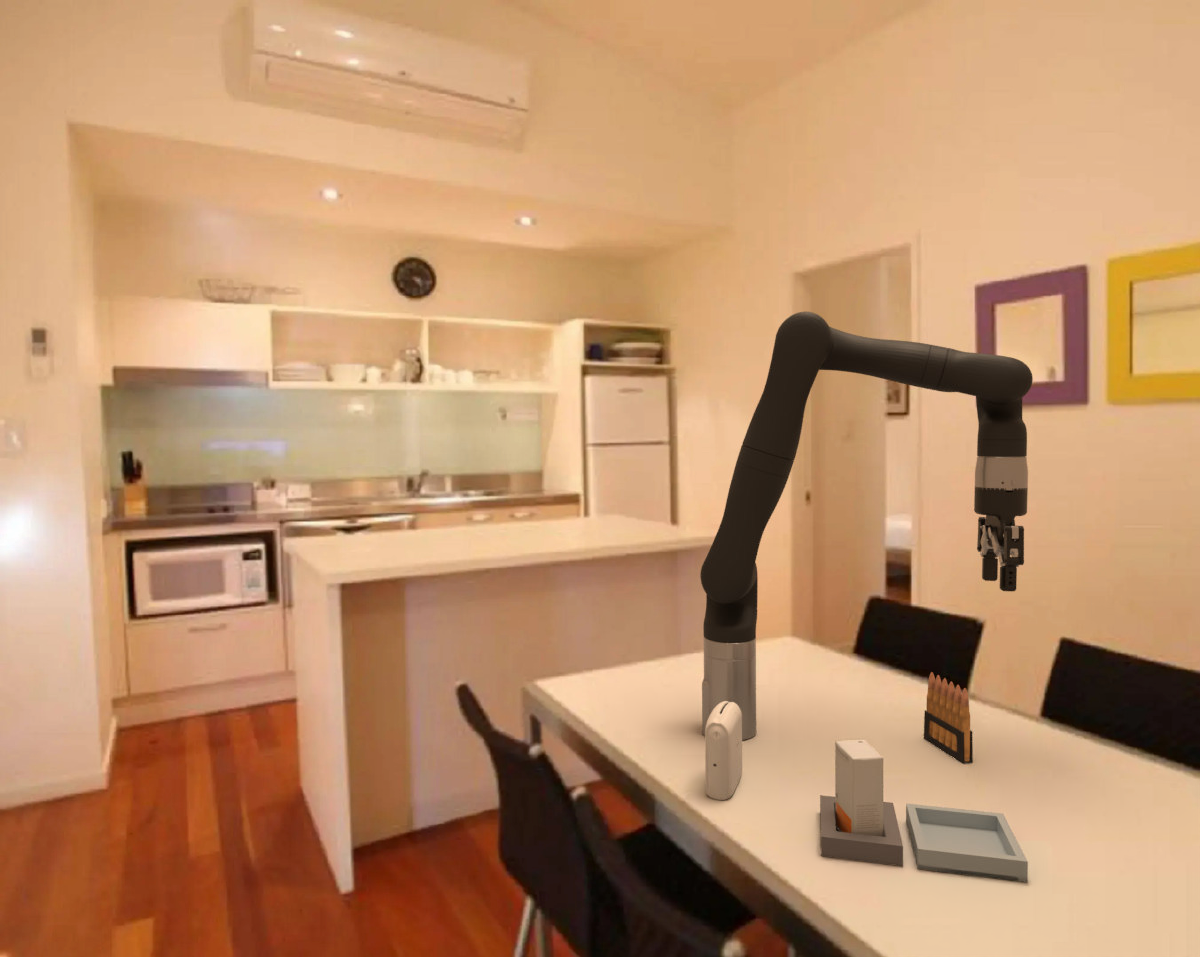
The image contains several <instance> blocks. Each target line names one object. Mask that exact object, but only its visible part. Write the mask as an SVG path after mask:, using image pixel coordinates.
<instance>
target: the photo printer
mask: <svg viewBox="0 0 1200 957" xmlns="http://www.w3.org/2000/svg"><path fill="white" fill-rule="evenodd" d="M704 742H705V743H704V746H705V749H704V751H705V752H704V753H705V754H704V757H705V758H704V760H705V762H704V763H705V771H704V772H705V774H704V775H705V794H706V796H708V797H709V798H711V799H714V800H718V801H725V800H727V799H730V798H731V797H732V796H733V794H734V792H735V791H736V788H737V786H738V785H739V782H740V780H741V778H742V774H743V773H742V772H743V740H742V713H741V710H740V708H739V706H738V705H737V704H736V703H734V702H728V701H724V702H721V703H719V704H718V705H717V706H716V707H715V708H714V709H713V710H712V712H711V714H710V716H709V718H708V720H707V723H706V728H705V735H704Z"/></svg>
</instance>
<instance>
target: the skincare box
mask: <svg viewBox="0 0 1200 957" xmlns="http://www.w3.org/2000/svg"><path fill="white" fill-rule="evenodd" d="M834 744H835V745H834V746H835V749H834V750H835V751H834V752H835V756H834V760H835V762H834V764H835V765H834V767H835V769H834V771H835V776H834V778H835V779H834V782H835V783H834V784H835V785H834V788H835V789H834V791H835V793H834V794H835V795H834V797H835V826H836V829H837V830H838V832H846V833H855V834H864V835H872V836H881V837H883V802H884V757H883V756H882V755H881V754H880V753H879V752H877V749H875V748H874V747H873V746H872V745H870V744H869V743H868V742H867V741H866V740H865V739H851V740H848V739H847V740H836V741H835V743H834Z"/></svg>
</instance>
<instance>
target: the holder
mask: <svg viewBox="0 0 1200 957" xmlns="http://www.w3.org/2000/svg"><path fill="white" fill-rule="evenodd" d="M819 819H820V820H819V822H820V852H821V854H820V855H821V857H827V858H834V859H835V858H836V859H841V860H842V859H844V860H850V861H851V860H852V861H860V862H867V863H876V864H883V865H891V866H892V865H893V866H898V867H900V866H901V867H904V866H903V865H904V845H903V841H902V835H901V832H900V827H899V824H898V818H897V813H896V810H895V805H894V802H889V801H883V837H881V836H872V835H864V834H855V833H846V832H840V831H837V830H836V829H837V827H836V826H835V796H830V795H821V794H820V795H819Z"/></svg>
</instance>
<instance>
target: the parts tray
mask: <svg viewBox="0 0 1200 957" xmlns="http://www.w3.org/2000/svg"><path fill="white" fill-rule="evenodd" d="M905 822H906V826H907V830H908V834H909V839H910V842H911V847H912V849H913V855H914V859H915V862H916V866H917V867H916V868H917V869H918V870H925V871H934V872H942V873H949V874H950V873H951V874H955V875H956V874H957V875H964V876H965V875H967V876H974V877H981V878H989V879H998V880H1006V881H1013V882H1021V881H1023V883H1028V878H1029V877H1028V876H1029V875H1028V873H1029V868H1028V866H1029V861H1028V859H1027V857H1026V856H1025V854H1024V852H1023V849H1022V848H1021V846H1020V844H1019V842H1018V840H1017V838H1016V836H1015V833H1014V832H1013V830H1012V829H1011V826H1010V824H1009V822H1008V820H1007V819H1006V816H1005V815H1004V813H1002V812H992V811H984V810H973V809H966V808H955V807H954V808H953V807H942V806H937V805H934V806H933V805H926V804H924V805H923V804H914V803H905ZM1024 881H1025V882H1024Z"/></svg>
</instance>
